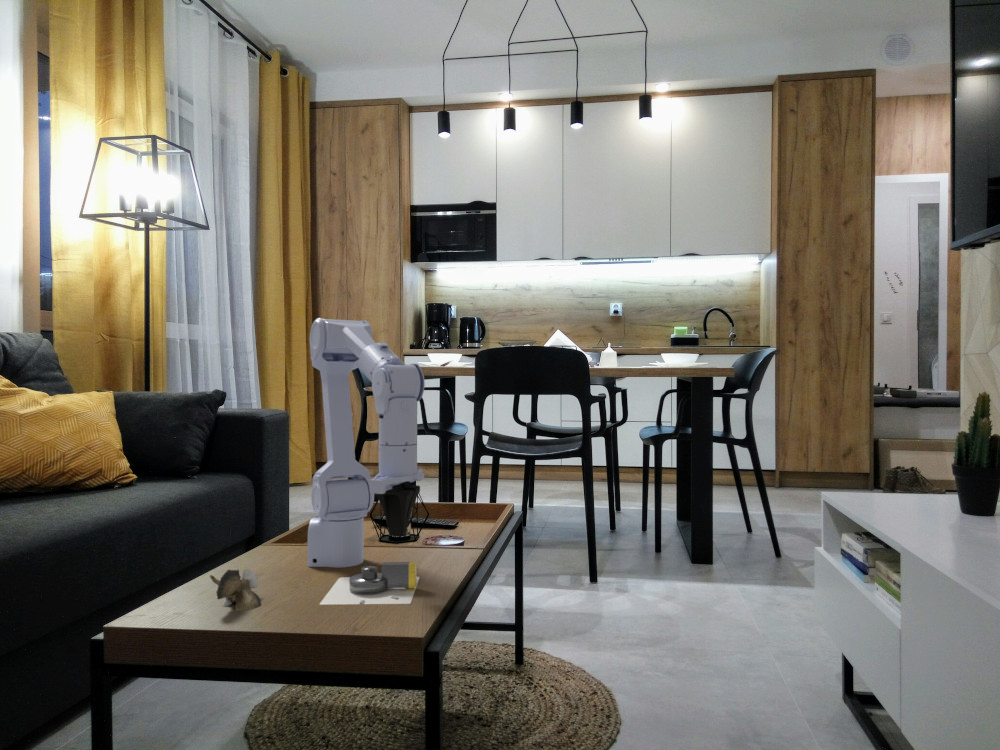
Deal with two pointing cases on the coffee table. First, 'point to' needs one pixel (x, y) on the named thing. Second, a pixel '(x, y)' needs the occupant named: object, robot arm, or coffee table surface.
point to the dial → (384, 577)
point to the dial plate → (366, 595)
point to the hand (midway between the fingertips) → (397, 534)
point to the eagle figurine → (238, 589)
